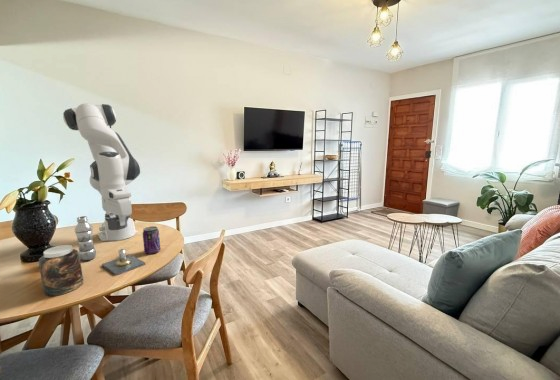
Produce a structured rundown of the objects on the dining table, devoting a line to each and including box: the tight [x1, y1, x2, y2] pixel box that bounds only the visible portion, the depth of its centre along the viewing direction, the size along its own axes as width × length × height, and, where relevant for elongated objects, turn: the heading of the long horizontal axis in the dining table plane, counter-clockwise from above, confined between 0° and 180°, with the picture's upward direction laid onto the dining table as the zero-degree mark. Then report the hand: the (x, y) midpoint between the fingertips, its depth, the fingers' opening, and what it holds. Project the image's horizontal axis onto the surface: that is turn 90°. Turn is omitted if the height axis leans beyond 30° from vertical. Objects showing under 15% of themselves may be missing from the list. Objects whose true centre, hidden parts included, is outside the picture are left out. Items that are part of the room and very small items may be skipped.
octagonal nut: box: [107, 217, 127, 230], centre depth 112 cm, size 6×6×4 cm
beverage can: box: [142, 225, 161, 255], centre depth 129 cm, size 7×7×12 cm
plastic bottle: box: [74, 215, 97, 262], centre depth 120 cm, size 6×7×20 cm
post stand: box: [101, 248, 146, 276], centre depth 115 cm, size 14×12×7 cm
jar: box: [38, 244, 84, 297], centre depth 98 cm, size 12×12×15 cm
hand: (118, 223), depth 112 cm, fingers closed on octagonal nut, 6 cm apart
